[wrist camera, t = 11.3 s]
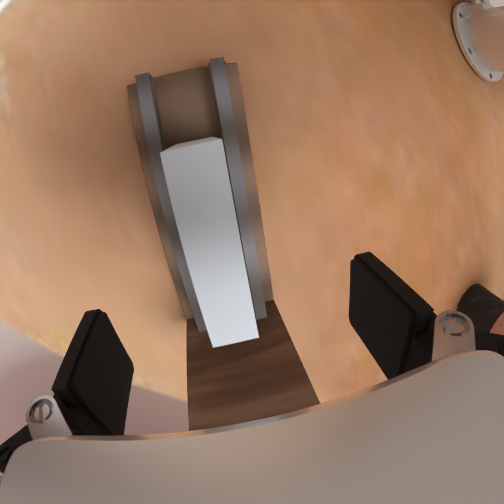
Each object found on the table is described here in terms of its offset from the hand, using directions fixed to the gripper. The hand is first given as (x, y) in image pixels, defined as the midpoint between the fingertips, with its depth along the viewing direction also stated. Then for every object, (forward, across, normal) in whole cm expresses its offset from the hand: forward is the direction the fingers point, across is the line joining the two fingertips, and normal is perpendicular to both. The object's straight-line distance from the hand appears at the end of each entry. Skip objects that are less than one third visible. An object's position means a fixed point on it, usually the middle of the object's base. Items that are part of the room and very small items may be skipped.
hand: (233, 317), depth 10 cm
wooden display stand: (+17, +1, 0) cm, 17 cm away
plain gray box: (+16, +1, 0) cm, 16 cm away
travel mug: (+18, -39, +24) cm, 49 cm away
